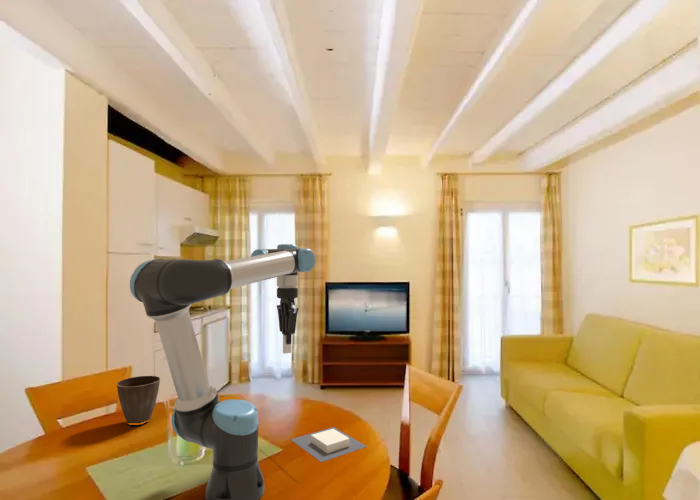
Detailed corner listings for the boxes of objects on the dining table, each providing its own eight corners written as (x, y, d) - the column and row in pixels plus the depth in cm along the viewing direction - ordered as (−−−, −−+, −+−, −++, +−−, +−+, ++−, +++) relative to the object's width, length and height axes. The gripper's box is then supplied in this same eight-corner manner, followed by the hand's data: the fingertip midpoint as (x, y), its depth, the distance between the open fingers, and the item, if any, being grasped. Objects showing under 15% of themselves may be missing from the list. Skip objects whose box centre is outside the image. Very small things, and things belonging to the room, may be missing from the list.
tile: (311, 442, 140) (327, 453, 132) (311, 434, 140) (327, 445, 132) (333, 435, 145) (349, 446, 137) (333, 428, 146) (349, 438, 137)
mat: (321, 464, 127) (321, 462, 127) (290, 441, 143) (290, 439, 143) (367, 448, 137) (367, 446, 137) (333, 428, 153) (333, 426, 153)
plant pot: (106, 427, 155) (107, 384, 155) (137, 413, 169) (138, 374, 169) (139, 432, 150) (139, 388, 151) (168, 417, 164) (168, 377, 165)
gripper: (305, 287, 146) (305, 354, 145) (288, 285, 157) (288, 348, 156) (286, 288, 142) (285, 357, 141) (270, 286, 153) (269, 350, 152)
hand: (287, 352), depth 149 cm, fingers closed
